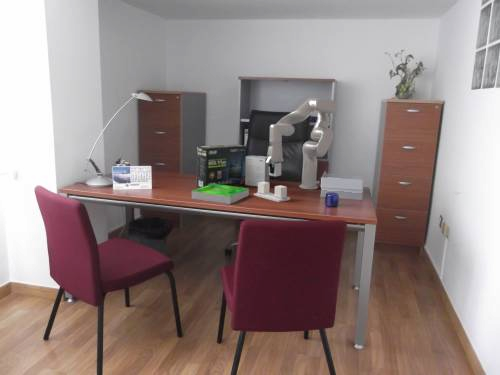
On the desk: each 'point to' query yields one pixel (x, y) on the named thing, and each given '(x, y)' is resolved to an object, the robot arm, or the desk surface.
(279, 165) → the block
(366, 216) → the desk surface
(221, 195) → the tray
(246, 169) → the hard drive box
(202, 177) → the router box
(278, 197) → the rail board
